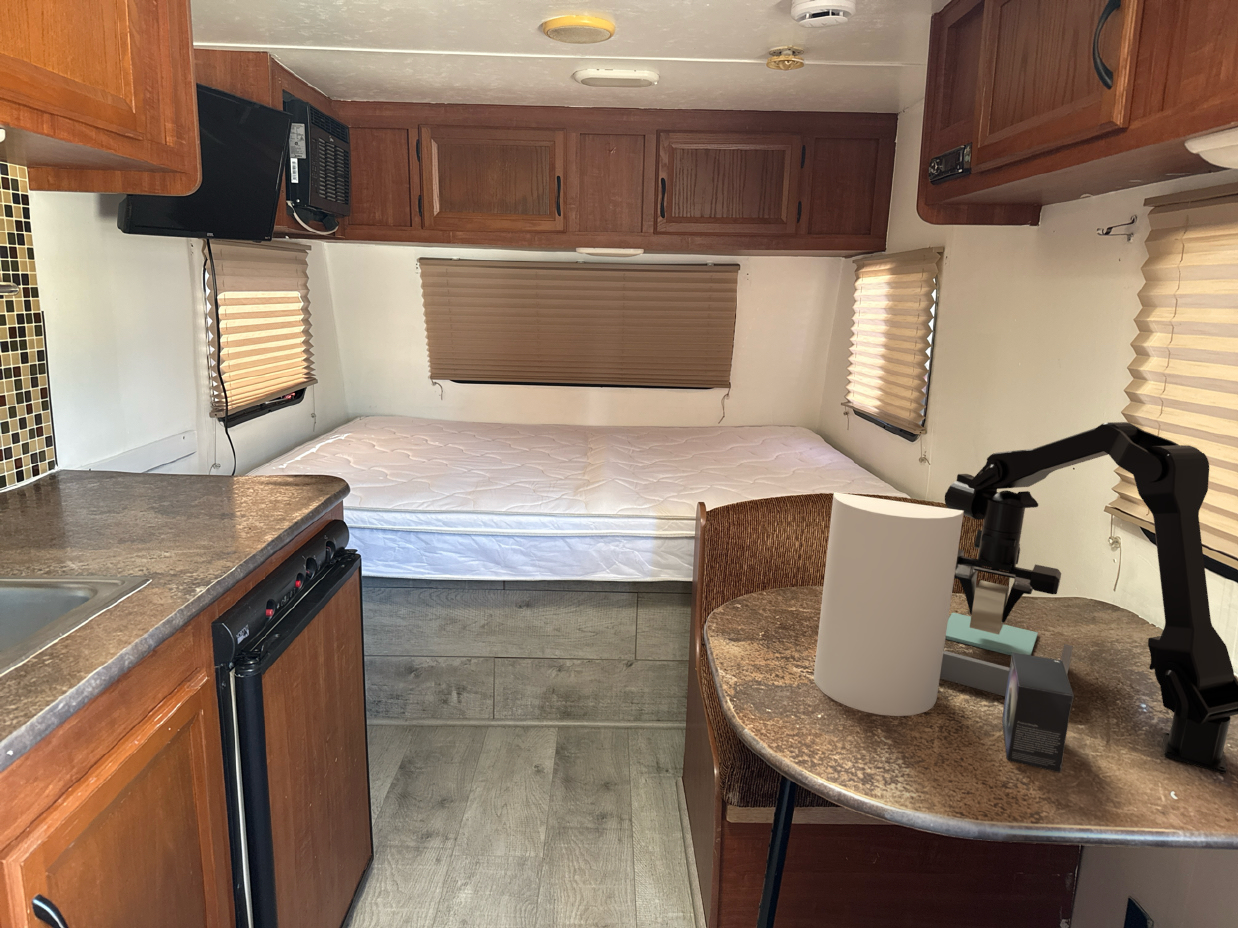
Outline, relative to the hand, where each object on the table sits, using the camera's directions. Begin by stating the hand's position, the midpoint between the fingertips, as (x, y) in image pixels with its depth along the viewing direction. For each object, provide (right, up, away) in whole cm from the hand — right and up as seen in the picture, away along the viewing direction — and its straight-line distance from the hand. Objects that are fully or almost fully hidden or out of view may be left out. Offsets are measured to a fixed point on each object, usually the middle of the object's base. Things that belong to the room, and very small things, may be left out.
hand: (987, 617), depth 134 cm
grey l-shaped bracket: (-6, -6, -8) cm, 11 cm away
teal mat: (+2, -4, +4) cm, 6 cm away
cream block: (0, -2, 0) cm, 2 cm away
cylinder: (-24, -7, -16) cm, 30 cm away
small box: (-8, -11, -30) cm, 33 cm away
